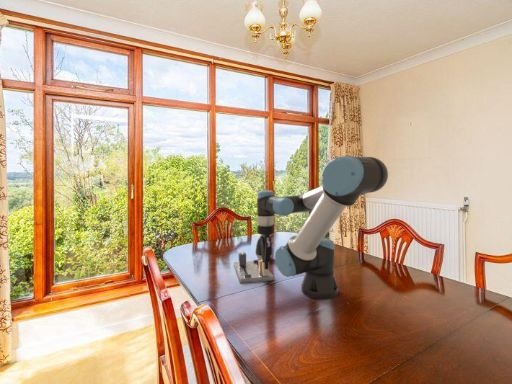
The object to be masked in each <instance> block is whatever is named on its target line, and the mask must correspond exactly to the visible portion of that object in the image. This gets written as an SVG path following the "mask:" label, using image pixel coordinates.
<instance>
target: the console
mask: <svg viewBox="0 0 512 384" xmlns="http://www.w3.org/2000/svg"><path fill="white" fill-rule="evenodd" d="M233 268H234V270H235V273H236V277H237V279H238V282H239V284H246V283H259V282H270V281H274V280H275V278H274V275H273V273H272V272H271V270H270V269H269V275H268V276H263V273H261V274H260V273H259V259H253V260H251V261H246V265H244V266H239V261H237V262H233Z"/></svg>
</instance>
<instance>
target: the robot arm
mask: <svg viewBox="0 0 512 384" xmlns="http://www.w3.org/2000/svg"><path fill="white" fill-rule="evenodd" d="M321 177H322V178H321V183H322V185H321V186H318V187H316V188H313V189H311V190H309V191H306V192H305V193H302V194H299V195H290V196H289V195H287V196H285V195H284V196H275V193H274V191H273V190H259V191H258V192H257V195H256V196H257V197H256V206H257V207H256V213H257V215H256V218H257V219H256V223H257V226H256V227H257V230H256V231H257V232H256V233H258V235H261V234H262V237H260V236H259V237H260V240H261V257H262V260H263V261H262V262H263V276H268V275H269V270H270V263H271V260H272V257H271V246H272V247H273V244H272V237H271V238H270V236H271V235H274V233H275V225H274V223H275V219H276V217H275V215H278V216H280V217H281V216H283V217H286V216H287V217H288V216H290V215H291V214H296V213H304V212H305V213H307V212H310V213H309V215H308V216H307V218H306V220H305V221H304V223H303V225H302V226H301V227H300V229H299V230H298V232H297V234H296V235H293V236H291V237H290V238H289V239H288V241H287V243H286V244H285V245H284V246H283V245H281V246H279V247H277V248H276V250H275V253H274V259H275V265H276V267H277V269H278V271H279V272H280V273H281V274H282V276H284V277H288V278H289V277H295V276H299V275H302V274H304V277H303V279H302V283H301V292H302V294H304V296H307V297H310V298H312V299H318V300H328V299H332V298H335V297H337V296H338V293H339V286H338V284H337V280H336V277H335V243H334V241H333V240H332V239H330V238H327V237H326V235H327V234H328V232H329V231H330V230H331V228H332V227H333V226H334V224H335V223H336V222H337V220H338V219H339V218H340V216H341V214H342V213H343V212H344V210H345V209H346V207H352V206H354V205H355V203H356V202H357V201H358V200H359V198H360V196H362V195H366V194H369V193H374V192H377V191H380V190H381V189H383V187H384V186H385V185H386V183H387V182H388V178H389V171H388V167H387V166H386V165H385V163H384V162H383V161H382V160H380V159H379V158H376V157H373V156H351V155H343V156H337V157H335V158H332V159H331V160H330V161H328V162H327V163H326V165H325V166H324V167H323V170H322V173H321ZM270 242H271V243H270Z"/></svg>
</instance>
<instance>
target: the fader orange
mask: <svg viewBox="0 0 512 384" xmlns="http://www.w3.org/2000/svg"><path fill="white" fill-rule="evenodd" d="M258 260H259V259H258ZM262 261H263V260H259V273H260V274H261V273H263V262H262Z"/></svg>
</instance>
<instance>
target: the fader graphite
mask: <svg viewBox="0 0 512 384" xmlns="http://www.w3.org/2000/svg"><path fill="white" fill-rule="evenodd" d="M238 262H239V266H244V265H246V262H247V253H246V252H242V251H241V252H238Z"/></svg>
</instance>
